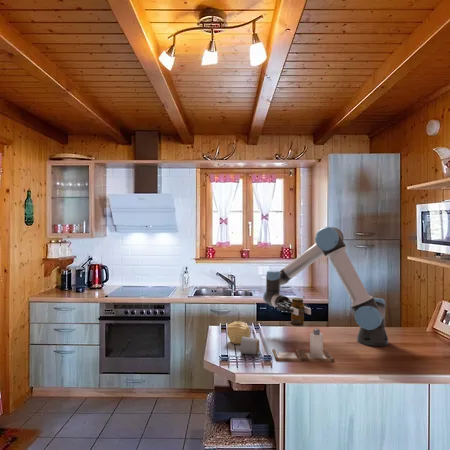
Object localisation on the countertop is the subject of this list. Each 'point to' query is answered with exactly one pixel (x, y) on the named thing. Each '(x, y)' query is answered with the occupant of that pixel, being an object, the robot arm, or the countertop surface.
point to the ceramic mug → (249, 346)
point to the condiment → (298, 319)
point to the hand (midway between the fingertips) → (303, 312)
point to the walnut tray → (301, 356)
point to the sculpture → (238, 331)
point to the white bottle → (316, 344)
